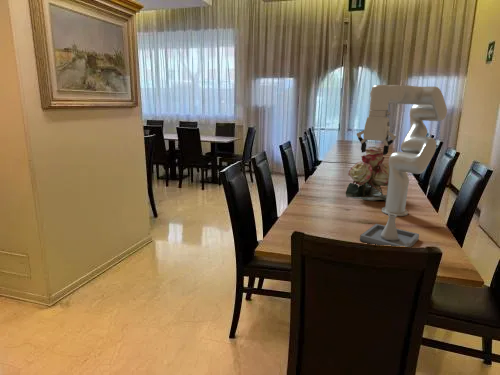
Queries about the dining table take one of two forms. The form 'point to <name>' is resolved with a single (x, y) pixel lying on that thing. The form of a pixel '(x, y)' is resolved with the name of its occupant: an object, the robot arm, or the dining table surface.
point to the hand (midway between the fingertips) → (374, 153)
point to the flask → (390, 229)
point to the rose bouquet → (369, 176)
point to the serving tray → (375, 238)
